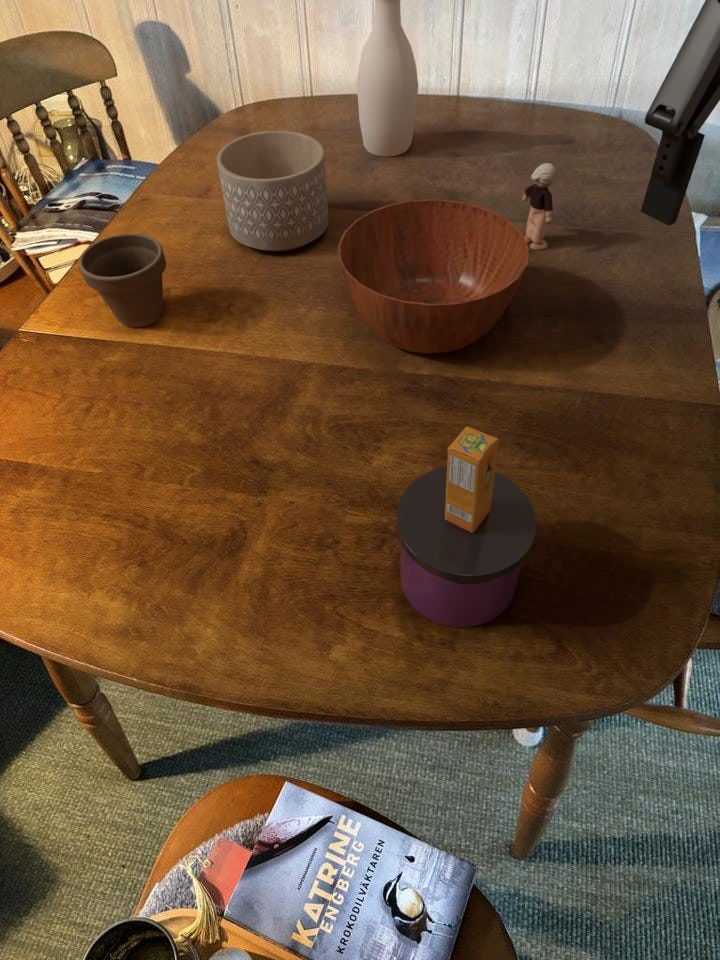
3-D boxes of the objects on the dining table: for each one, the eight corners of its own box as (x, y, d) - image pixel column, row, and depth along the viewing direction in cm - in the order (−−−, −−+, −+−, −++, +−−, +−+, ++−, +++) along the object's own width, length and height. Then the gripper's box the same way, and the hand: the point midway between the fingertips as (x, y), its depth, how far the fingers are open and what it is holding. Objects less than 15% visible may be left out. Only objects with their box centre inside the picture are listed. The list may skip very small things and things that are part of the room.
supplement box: (458, 496, 69) (467, 422, 61) (490, 512, 67) (503, 438, 60) (440, 519, 67) (447, 445, 59) (472, 536, 66) (484, 463, 58)
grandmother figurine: (558, 247, 114) (574, 169, 104) (540, 256, 112) (555, 177, 103) (525, 227, 118) (537, 150, 108) (507, 234, 117) (518, 157, 107)
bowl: (390, 399, 92) (390, 328, 84) (314, 296, 107) (308, 226, 98) (552, 343, 99) (568, 271, 90) (460, 253, 114) (466, 183, 105)
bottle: (402, 164, 133) (405, 7, 114) (348, 153, 136) (342, -1, 117) (425, 139, 139) (431, -15, 120) (373, 129, 143) (371, -21, 123)
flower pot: (83, 320, 105) (59, 259, 97) (142, 283, 111) (124, 223, 103) (136, 349, 100) (115, 288, 92) (194, 309, 106) (179, 248, 98)
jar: (534, 547, 77) (550, 486, 69) (501, 650, 69) (516, 595, 61) (419, 512, 80) (423, 450, 73) (376, 606, 73) (375, 549, 65)
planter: (342, 244, 116) (338, 167, 106) (243, 266, 113) (230, 189, 103) (311, 197, 126) (305, 123, 116) (220, 216, 123) (206, 141, 113)
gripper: (894, -196, 48) (765, 130, 64) (647, -146, 39) (569, 221, 55) (1016, -184, 44) (845, 161, 60) (772, -125, 34) (648, 264, 51)
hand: (713, 190), depth 57 cm, fingers open, 13 cm apart
